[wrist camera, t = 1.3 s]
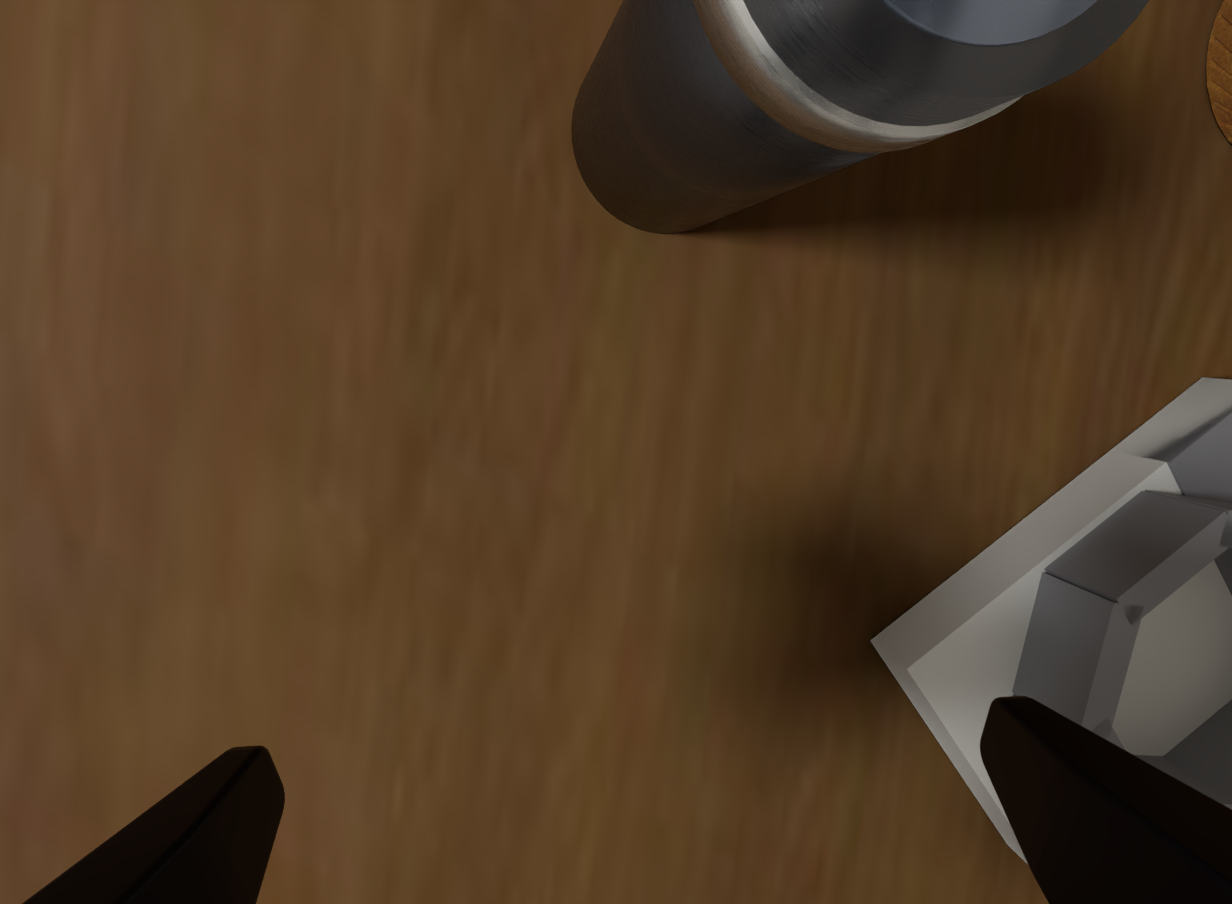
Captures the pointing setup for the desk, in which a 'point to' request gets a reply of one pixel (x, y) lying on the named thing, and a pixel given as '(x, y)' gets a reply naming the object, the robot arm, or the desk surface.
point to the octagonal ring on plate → (1097, 610)
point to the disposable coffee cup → (1221, 69)
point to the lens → (803, 90)
